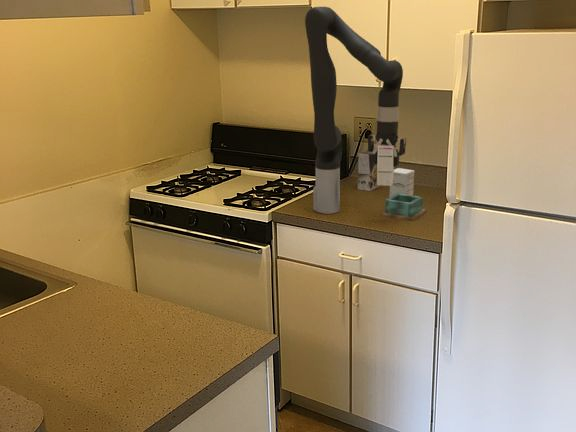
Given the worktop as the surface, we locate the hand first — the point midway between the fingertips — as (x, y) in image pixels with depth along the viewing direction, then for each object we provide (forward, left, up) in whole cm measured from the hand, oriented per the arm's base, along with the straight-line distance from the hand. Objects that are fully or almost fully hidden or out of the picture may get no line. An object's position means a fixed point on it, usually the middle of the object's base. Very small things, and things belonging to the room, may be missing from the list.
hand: (385, 165), depth 229 cm
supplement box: (-5, +27, -21) cm, 35 cm away
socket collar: (+3, +11, -21) cm, 24 cm away
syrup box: (0, 0, -7) cm, 7 cm away
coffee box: (-25, +38, -21) cm, 50 cm away
